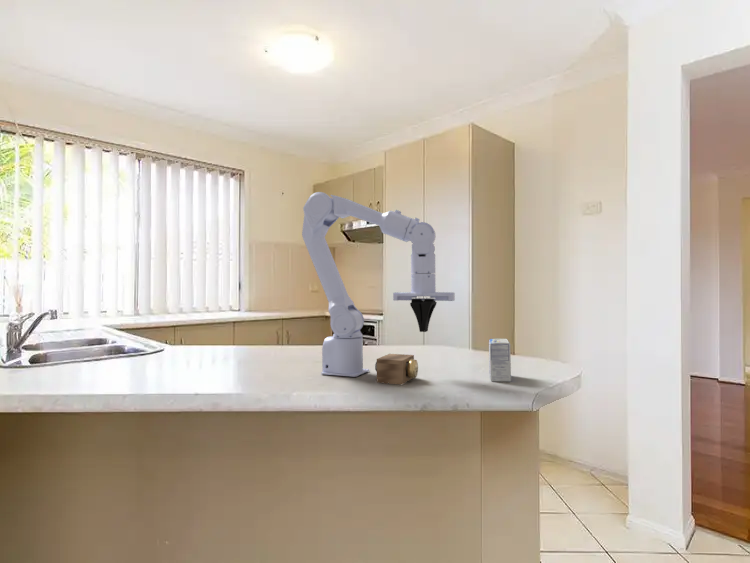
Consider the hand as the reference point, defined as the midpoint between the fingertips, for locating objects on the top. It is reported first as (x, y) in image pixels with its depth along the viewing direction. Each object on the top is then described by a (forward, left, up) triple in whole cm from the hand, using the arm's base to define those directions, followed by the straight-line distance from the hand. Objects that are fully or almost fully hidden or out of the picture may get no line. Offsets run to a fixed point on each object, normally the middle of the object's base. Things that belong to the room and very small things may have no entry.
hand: (423, 331), depth 111 cm
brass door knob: (-5, -7, -10) cm, 13 cm away
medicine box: (+17, +3, -11) cm, 20 cm away
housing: (-4, -7, -10) cm, 13 cm away
